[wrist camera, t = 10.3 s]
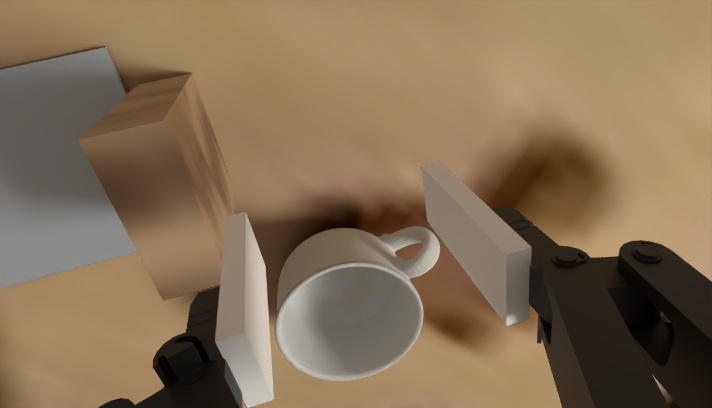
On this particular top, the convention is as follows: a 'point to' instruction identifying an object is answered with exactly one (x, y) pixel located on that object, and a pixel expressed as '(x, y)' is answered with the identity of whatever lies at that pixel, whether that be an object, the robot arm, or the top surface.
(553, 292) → the robot arm
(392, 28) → the top surface
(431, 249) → the teacup
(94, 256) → the felt mat
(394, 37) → the top surface
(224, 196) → the walnut slab
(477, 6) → the top surface
